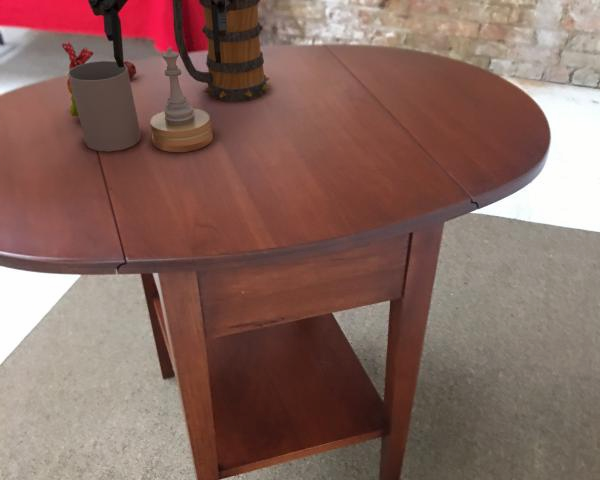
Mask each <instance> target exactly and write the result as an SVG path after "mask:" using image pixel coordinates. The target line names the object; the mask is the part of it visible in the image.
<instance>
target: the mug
mask: <svg viewBox="0 0 600 480" xmlns="http://www.w3.org/2000/svg"><path fill="white" fill-rule="evenodd" d="M171 2H172V11H173V12H172V13H173V14H172V16H173V19H172V20H173V32H174V33H173V34H174V41H175V45H176V47H177V50H178V51H177V52H178V54H179V57H180V59H181V61H182V63H183V65H184V68H185V70H186V71H187V73H188V75H189V76H190V77H191V78H192V79H194V80H195V81H196V82H200V83H204V84H207V87H206V88H205V89H204V90H203V92H204V93H207V94H208V95H209V96H210V97H212V98H213V99H214V100H218V101H223V102H237V103H238V102H244V101H245V102H246V101H251V100H255V99H257V98H261V97H262V96H263V95H265V94H266V93H267V92H268V90H270V89H271V87H270V86H268V85H267V82H268V81H269V80H270V77H268V76H266V75H265V71H264V63H265V59H264V53H263V52H262V51H261V44H260V43H261V42H260V34H261V32H262V31H263V30H264V29H263V25H261V23H260V22H259V3H260V2H261V0H238V9H237V10H235V11H233V10H230V11H228V12H227V14H226V22H227V35H226V36H221V37H220V51H221V63H216V59H215V52H214V39H213V25H212V11H211V6H210V5H209V4H208V3H207V2H206V1H205V0H198V3H199V5H201V6H202V9H203V15H204V16H203V17H204V23H205V25H203V27H202V29H201V32H202V33H203V34H204V36H205V38H206V41H207V55H206V62H205V65H206V66H207V69H208V71H200V70H198V69H197V68H195V65H194V64H193V62H192V60H191V58H190V55H189V52H188V50H187V49H188V48H187V45H186V43H185V37H184V27H183V24H184V23H183V21H184V20H183V16H184V15H183V13H184V12H183V1H182V0H172V1H171Z"/></svg>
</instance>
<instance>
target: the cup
mask: <svg viewBox="0 0 600 480" xmlns="http://www.w3.org/2000/svg"><path fill="white" fill-rule="evenodd" d="M67 77H68V78H69V81H70V85H71V88H72V92H73V96H74V100H75V104H76V108H77V111H78V115H79V116H78V119H79V123H80V126H81V130H82V134H83V139H84V142H85V144H86V146H87V147H88V148H89V149H92V150H94V151H97V152H116V151H122V150H125V149H128V148H131V147H134V146H136V145H137V144H138V143H139V142H140V141H141V138H142V133H141V129H140V125H139V124H140V123H139V120H138V114H137V108H136V104H135V98H134V94H133V88H132V83H131V78H129V73H128V68H127V66H125V65H124V67H118V65H117V63H116V60H112V61H111V60H110V61H109V60H98V61H89V62H85V64H81V65H78V66H76V67H74V68H72V69H70V71H69V70H68V73H67Z"/></svg>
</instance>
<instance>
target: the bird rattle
mask: <svg viewBox="0 0 600 480" xmlns="http://www.w3.org/2000/svg"><path fill="white" fill-rule="evenodd" d="M61 47H62V48H63V50H64V51H65V53H67V55H68V59H69V65H68V72H69V71H70V69H72V68H74V67H76V66H78V65H81V64H85V63H87V62H88V61H89V60H90V59H91V57H92V56H93V55H94V52H93V51H91V50H89V49H88V47H83V48H82V50H81V51H80V53H78V55H77V54H76V53H77V52H76V50H75V49H74V47H73V43H71V42H67V43H62V44H61ZM66 85H67V90H68V92H69V93H70V95H71V97H70V100H71V105H70V115H71V116H72V117H78V118H79V115H78V111H77V108H76V104H75V100H74V96H73V92H72V88H71V85H70V81H69V77H68V78H67V83H66Z"/></svg>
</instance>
